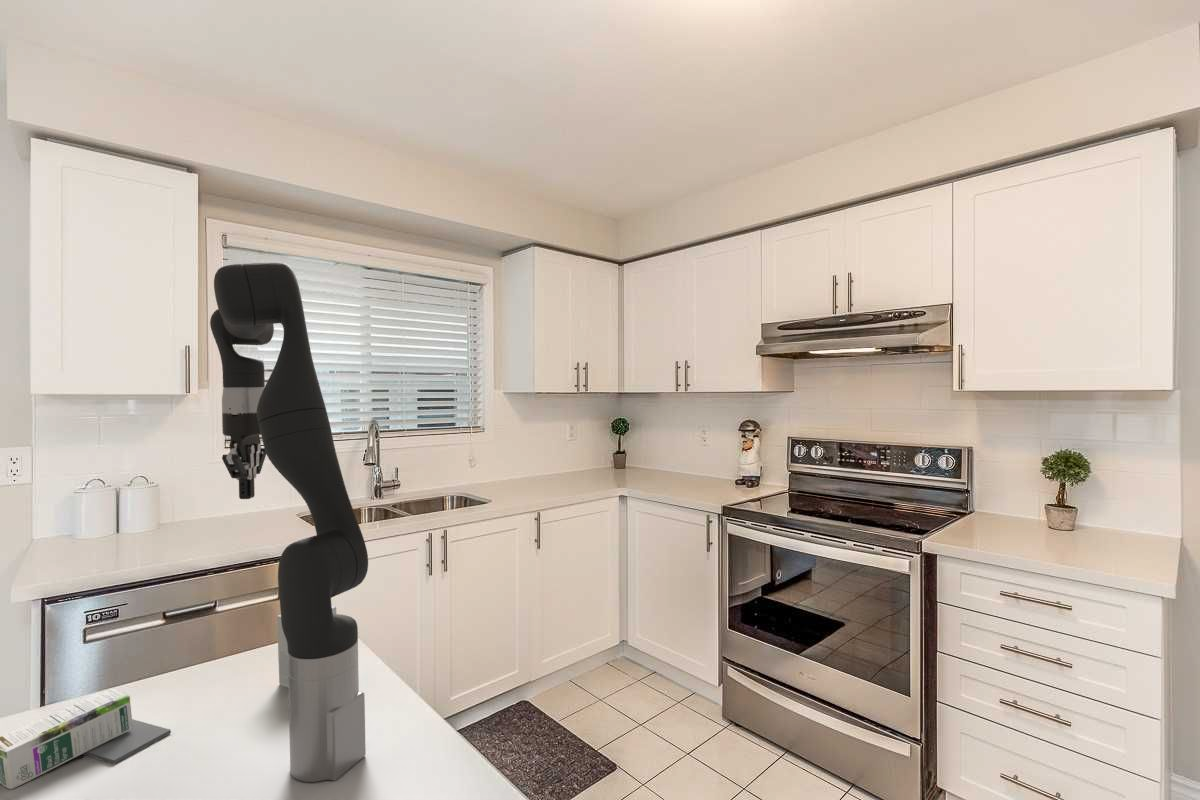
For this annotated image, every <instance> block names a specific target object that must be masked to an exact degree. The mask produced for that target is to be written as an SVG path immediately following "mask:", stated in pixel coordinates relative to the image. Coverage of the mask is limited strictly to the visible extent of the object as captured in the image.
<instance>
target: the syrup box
mask: <svg viewBox="0 0 1200 800" xmlns="http://www.w3.org/2000/svg"><path fill="white" fill-rule="evenodd" d="M132 714H133V713H132V705H131V696H130V695H129V694H127V693H125V692H123V691H120V690H118V689H116V688H115V687H111V688H108V689H107V690H104V691H102V692H100V693H97V694H95V695H93V696H90V697H88V698H86V699H83V700H81V701H79V702H77V703H74V704H72V705H69V706H67V707H65V708H62V709H60V710H58V711H56V712H54V713H52V714H48V715H47V716H45V717H42V718H40V719H37V720H35V721H33V722H31V723H29V724H27V725H24V726H21V727H19V728H17V729H14V730H13V731H10V732H8V733H6V734H3V735H1V736H0V784H1V785H2V786H3V787H6V788H7V789H9V790H14V789H15V788H18V787H19V786H21V785H24V784H26V783H28V782H30V781H32V780H34V779H35V778H38V777H40V776H42V775H43V774H46V773H48V772H49V771H51V770H54V769H55V768H57V767H59V766H62V765H64V764H65V763H67V762H70V761H71V760H73V759H75V758H78V757H79V756H82V755H83V753H85V752H87V751H89V750H91V749H93V748H95V747H97V746H99V745H101V744H103V743H105V742H107V741H109V740H111V739H113V738H115V737H118V736H120V735H122V734H124V733H126V732H128V731H130V730H132V729H133V728H134V726H133V723H132V719H133V715H132ZM13 788H14V789H13Z"/></svg>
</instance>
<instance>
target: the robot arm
mask: <svg viewBox="0 0 1200 800" xmlns="http://www.w3.org/2000/svg"><path fill="white" fill-rule="evenodd" d="M213 288H214V291H213V292H214V296H215V301H216V305H217V309H215V311H214V312H213V313H212V314H211V317H210V319H209V320H210V321H209V325H210V330H211V333H212V335H213V336H212V337H213V338H214V341H215V344H216V346H217V349H218V352H219V356H220V360H221V367H222V369H221V370H222V396H221V419H222V420H221V421H222V423H221V425H222V434H223V436H227V437H230V439H229V440H230V441H229V445H228V446H229V452H228V454H222V457H221V460H222V462H223V463H224V465H225V468H226V469H227V471H228V473H229V475H230V477H231V479H236V480H237V481H238V498H239V499H240V500H250V499H253V498H254V497H255V479H256V478H257V475H259V474H261V471H262V469H263V466H264V464H265V463H264V462H265V459H266V457H267V458H268V460H269V461H270V463H271V464H272V466H273V467H274V468H275V469H276V470H277V471H278V473H280V475H281V476H282V477H283V478H284V479H285V480H286V481H287V482H288V483H289V484H290V485H291V486H292V487H293V489H294V490H296V491H297V493H298V494H299V495H300V496H301V497H302V499H303V500H304V503H305V504H306V505H307V507H308V510H309V512H310V516H311V518H312V521H313V524H314V529H315V534H316V535H312V536H309V537H306V538H302V539H300V540H296V541H294V542H292V543H290V544H289V545H287V546H286V547H285V548H284V550H283V551H282V553H281V555H280V558H279V561H278V566H277V567H278V568H277V587H278V597H279V598H278V599H279V609H280V615H281V623H282V629H283V632H284V635H285V637H286V640H287V646H288V686H289V688H288V727H289V728H288V729H289V730H288V731H289V734H288V735H289V758H290V759H289V767H290V768H289V769H290V774H291V776H292V777H293V778H294V779H296V780H297V781H300V782H305V783H306V782H307V783H308V782H309V783H314V782H320V781H327V780H328V781H336V780H337V779H339V778H340V777H341V776H342V775H344V774H345V773H346V772H348V771H349V769H351V768H353V766H355V765H356V764H357V763H358V762H359V761H360V760H362V759H363V758H365V756H366V755H367V754H366V753H367V752H366V751H367V750H366V749H367V748H366V709H365V708H366V707H365V706H366V705H365V704H366V703H365V702H366V700H365V692H363V691H360V690H359V689H360V688H359V687H360V686H359V684H360V681H359V680H360V679H359V636H358V635H359V632H358V631H359V630H358V623H357V621H356V620H355V618H353V617H352V616H349V615H345V614H338V613H336V614H333V613H332V606H333V605H332V598H333V597H336V596H338V595H340V594H344V593H345V592H348V591H350V590H353V589H354V588H356V587H358V586H360V585H361V584H362V583H363V581H365V578H366V576H367V574H368V569H369V556H368V554H369V553H368V549H367V546H366V542H365V538H364V536H363V533H362V530H361V527H360V524H359V522H358V519H357V517H356V513H355V511H354V507H353V505H352V502H351V500H350V497H349V494H348V491H347V487H346V484H345V481H344V477H343V474H342V470H341V466H340V462H339V459H338V456H337V451H336V448H335V443H334V438H333V437H334V436H333V433H332V427H331V423H330V420H329V415H328V412H327V407H326V404H325V400H324V397H323V394H322V389H321V386H320V382H319V379H318V376H317V372H316V369H315V365H314V359H313V356H312V351H311V345H310V340H309V335H308V329H307V324H306V316H305V311H304V306H303V305H304V304H303V301H302V300H303V299H302V296H301V295H302V293H301V290H300V286H299V282H298V278H297V276H296V274H295V271H294V270H293V269H292V267H291V266H290V265H289V264H287V263H284V262H256V263H255V262H253V263H235V264H234V263H233V264H227V265H224V266H222V267H220V268H218V269H217V270H216V272H215V274H214V278H213ZM276 324H281V326H282V328H283V337H282V343H281V348H280V350H279V354H278V356H277V360H276V362H275V365H274V367H273V369H272V372H271V373H270V376H269V378H268V379H267V381H266V382H265V364H264V361H263V360H262V359H260V358H258V357H253V356H248V355H243V354H242V353H241V354H240V353H239V352H237V351H236V350H235V348H234V346H233V345H236V346H237V345H238V346H240V345H241V346H262V345H263V346H265V345H267V344H268V343H270V342H271V340H272V339H273V337H274V333H275V332H274V331H275V330H274V329H275V328H274V327H275V326H274V325H276ZM265 383H266V384H265ZM260 436H261V437H260ZM261 440H262V443H261ZM261 444H263V447H262V446H261Z"/></svg>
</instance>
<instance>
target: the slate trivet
mask: <svg viewBox="0 0 1200 800" xmlns="http://www.w3.org/2000/svg"><path fill="white" fill-rule="evenodd" d="M132 723H133V726H134V728H133V729H132V730H130V731H128V732H126V733H124V734H122V735H120V736H118V737H115V738H113V739H111V740H109V741H107V742H105V743H103V744H101V745H99V746H97V747H95V748H93V749H91V750H89V751H87V752H85V753H83V754H82V755H83V756H87V757H90V758H92V759H97V760H100V761H102V762H105V763H108V764H112V765H116V764H118V763H120V762H121V761H123V760H126V758H129V757H130V756H133V755H134V754H135V753H137V752H139V751H141V750H143V749H145V748H147V747H148V745H149V746H151V745H152V744H155V743H156V742H158V741H160V740H161V739H163V738H165V737H167V736H168V735H171V734H172V732H171V731H172V730H171V728H165V727H162V726H158V725H155V724H152V723H151V724H150V723H147V722H144V721H140V720H136V719H133V718H132ZM170 733H171V734H170ZM150 744H151V745H150ZM146 746H147V747H146Z"/></svg>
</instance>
